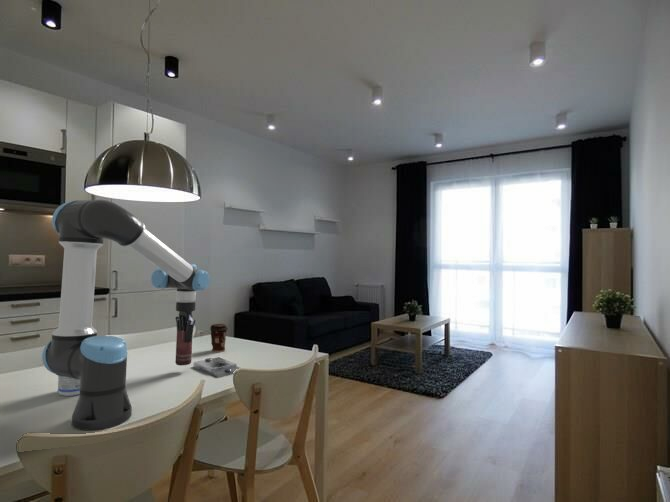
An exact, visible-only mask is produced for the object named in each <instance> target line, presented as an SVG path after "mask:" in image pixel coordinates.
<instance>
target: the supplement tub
mask: <svg viewBox="0 0 670 502" xmlns="http://www.w3.org/2000/svg"><path fill="white" fill-rule="evenodd" d="M57 376H58V375H57ZM57 380H58V381H57V394H58V395H59V396H64V397H72V396H80V380H78V379H74V378H69V377H61V376H58V377H57Z"/></svg>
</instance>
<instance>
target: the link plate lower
mask: <svg viewBox="0 0 670 502" xmlns="http://www.w3.org/2000/svg"><path fill="white" fill-rule="evenodd" d="M222 366H227V365H225V364H222V363H220V364H216V365H211V367H214V368H217V367H222ZM239 368H241V367H239V366H237V365H236V367H231V368H226V369H222V370H217V371H213V372H210V371H207V370H205V369H203V368H200V369H199V370H200V371H201V372H202V371H203V372H204V373H206V374H209V375H210V376H213V377H216V378H217V379H218V378H222V377H225V376H226V377H227V376H230V375H234V374H233V372H234V371H235V370H236V369H239Z"/></svg>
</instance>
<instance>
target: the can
mask: <svg viewBox="0 0 670 502" xmlns="http://www.w3.org/2000/svg"><path fill="white" fill-rule="evenodd" d="M185 334H186V331H184V330H182V331H181V330H180V329H179V330H178V331H177V330H176V341H175V342H176V345H175V361H174V362H175V364H176V365H177V366H188V365H191V363H192V357H193V353H192V351H193V340H192V341H191V342H189V343H185V342H184V341H185ZM193 336H194V334H192V338H193Z"/></svg>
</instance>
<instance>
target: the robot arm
mask: <svg viewBox="0 0 670 502" xmlns="http://www.w3.org/2000/svg"><path fill="white" fill-rule="evenodd" d="M51 220H52V221H51V225H52V228H53V229H54V231H55V232H56V234H58V243H59V245H61V246H62V247H63V265H62V278H61V292H60V306H59V318H58V319H59V320H58V327H57V328H56V329H55V330H54V331H53V332H52V333H51V340H49V341H48V344H45V347H43V350H42V354H41V357H42V358H41V360H42V365H44V368H45V369H46V370H47V371H49V372H50V373H52V374H55V375H56V376H61V377H69V378H74V379H78V380H80V394H79V395H78V396H79V397H78V398H77V402H76V404H75V407H74V410H73V412H72V414H71V427H72V428H74V429H76V430H81V431H96V430H103V429H108V428H112V427H115V426H118V425H120V424H123V423H125V422H126V421H127V420H129V419H130V418H131V417H132V415H133V413H132V412H133V409H132V408H133V407H132V403H131V401H130V398H129V395H128V393H127V392H128V391H127V388H126V387H127V385H126V383H127V362H128V348H127V342H126V341H125V340H124V339H123V338H121V337H117V336H114V335H113V336H112V335H98V331H97V329H96V328H94V326H93V316H94V303H95V301H94V299H95V287H96V272H97V271H96V270H97V256H98V250H99V249H101V247H102V246H104V239H105V240H110V241H112V242H115V243H117V244H119V246H121V247H128V248H130V249H131V250H133V251H134V252H136V253H137V254H138V255H140V256H141V257H143V258H144V259H146V261H148V262H150V263H151V264H153V266H155V267H157V269H155V270H153V272H152V274H151V276H150V277H151V278H150V281H151V284H152V286H153V287H154V288H156V289H162V290H164V289H175V290H176V295H175V296H176V297H175V301H176V302H175V311H176V312H178V316H175V322H176V323H175V324H176V332H177V331H178V330H179V329H180V330H181V331H182V330H184V331H186V334H185V341H184V342H185V343H189V342H191V341H192V342H193V337H192V334H193V333H194V327H195V324H196V319H193V312H194V311H196V299H197V297H196V295H197V291H204V290H206V289H207V288H208V287H209V284H210V283H211V281H210V280H211V279H210V274H209V272H207V271H206V270H202V269H198V267H197V265H196V264H194V263H189V262H188V261H186V260H185V259H184V258H182V256H180V255H179V254H177V253H176V252H175V251H174V250H172V249H171V248H170V247H169V246H168V245H166V244H165V243H164V242H163V241H161V240H160V239H159V238H157V237H156V236H155V235H154V234H153V233H151V232H150V231H149V230H148V229H147V228H146V226H145V223H144V222H143V221H142V220H140V219H139V218H138V217H137V216H136V215H134V214H133V213H131V212H130V211H128V210H127V209H126V208H124V207H123V206H121V205H119V204H117V203H115V202H112V201H109V200H106V199H92V200H91V199H86V200H85V199H84V200H83V199H82V200H78V199H77V200H72V201H67V202H64V203H62V204H61V205H59V206H58V207H57V208H56V209H55V210H54V213H53V214H52V219H51ZM193 335H194V334H193Z"/></svg>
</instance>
